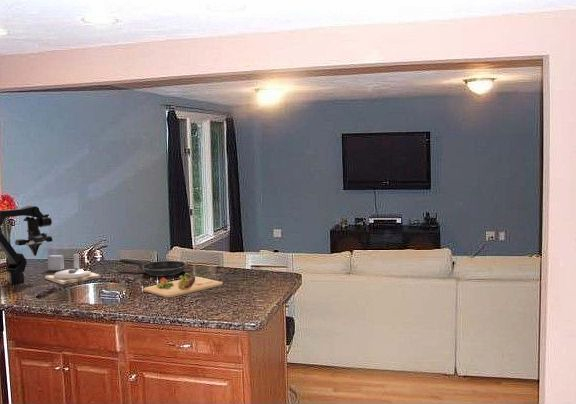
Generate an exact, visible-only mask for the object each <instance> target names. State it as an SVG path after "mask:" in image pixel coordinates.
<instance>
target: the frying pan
mask: <svg viewBox="0 0 576 404" xmlns="http://www.w3.org/2000/svg"><path fill="white" fill-rule="evenodd" d="M118 260H119V263H123V264H126V265H127V264H129V265H135V266H138V267H139V268H140V270H142V271H144V272H145V273H146V274H147V275H149V276H153V277H169V276H175V275H178V274H181V273H182V272H183V271H184V270H185V267H186V266H187V263H186V262H183V261H179V260H161V261H151V262H148V263H144V262H142V261H139V260H135V259H128V258H122V259H118Z"/></svg>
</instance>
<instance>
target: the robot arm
mask: <svg viewBox="0 0 576 404" xmlns="http://www.w3.org/2000/svg"><path fill="white" fill-rule="evenodd" d="M19 216H21V217H22V216H24V217H25V218H24V219H22V221H23V222H27V230H26V232H27V236H28V237H27V239H24V238H20V239H16V240H15V241H14V244H15V246H18V247H19V246H25V245H26V246H27V247H28V248H29V249H30V251H31V253H32V254H33V256H34V257H36V256H37V254H38V251H39V248H40V246H41V245H43V243H44V242H45V241H46V242H47V243H48V242H49V243H50V242H53V237H52V236H50V235H47V233H46V232H42V233H41V230H40V228H45V227H50V226H52V223H53V222H52V221H53V220H52V218H51V217H50V214H43V213H42V211H41V210H40V208H39V206H37V205H35V206H34V205H26V206H23V207H21V208H16V209H15V208H13V209H4V210H2V209H1V210H0V248H1V250H2V251H3V253H5V255H6V256H7V258H8V263H9V264H8V265H7V267H6V273H8V279H9V281H8V284H11V285H18V284H23V283H24V284H25V274H24V272H25V270H26V266H27V263H28V262H27V258H26V257H25V256H24V254H23V253H19V252H17V251H16V250H15V248H14V247H13V246H12V244H11V243H10V242H9V241H8V239H7V238H6V236H5V235H4V233H3V229H2V227H1V226H2V225H3V224H4V220H5V219H6V218H12V217H19Z"/></svg>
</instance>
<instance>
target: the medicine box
mask: <svg viewBox="0 0 576 404" xmlns="http://www.w3.org/2000/svg"><path fill="white" fill-rule="evenodd" d="M47 266H48V271H63V270H65V262H64V254H56V255H55V254H52V255H48V256H47ZM62 269H63V270H62Z"/></svg>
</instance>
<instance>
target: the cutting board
mask: <svg viewBox="0 0 576 404" xmlns="http://www.w3.org/2000/svg"><path fill="white" fill-rule="evenodd" d="M179 278H180V279H177V280H173V281H168V279H166V278H165V277H161V279H160V280H159V283H157V284H155V285H150V286H146V287H144V288H143V289H142V290H143V292H145V293H150V294H153V295H156V296H160V297H163V298H175V297H177V296H182V295H186V294H187V295H188V294H191V293H195V292H199V291H204V290H207V289H212V288H217V287H220V286H223V285H224V282H223V281H219V280H214V279H210V278H205V277H201V276H196V275H192V274H190V273H189V272H185V273H184V275H180V276H179Z"/></svg>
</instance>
